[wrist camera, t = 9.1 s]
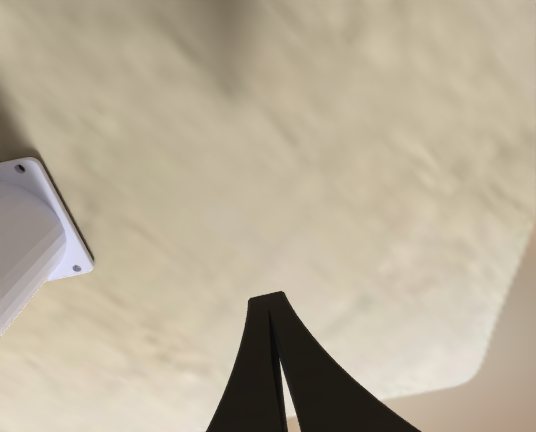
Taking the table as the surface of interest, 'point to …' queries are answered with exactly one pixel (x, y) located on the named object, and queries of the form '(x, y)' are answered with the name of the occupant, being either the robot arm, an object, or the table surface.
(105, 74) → the table surface
